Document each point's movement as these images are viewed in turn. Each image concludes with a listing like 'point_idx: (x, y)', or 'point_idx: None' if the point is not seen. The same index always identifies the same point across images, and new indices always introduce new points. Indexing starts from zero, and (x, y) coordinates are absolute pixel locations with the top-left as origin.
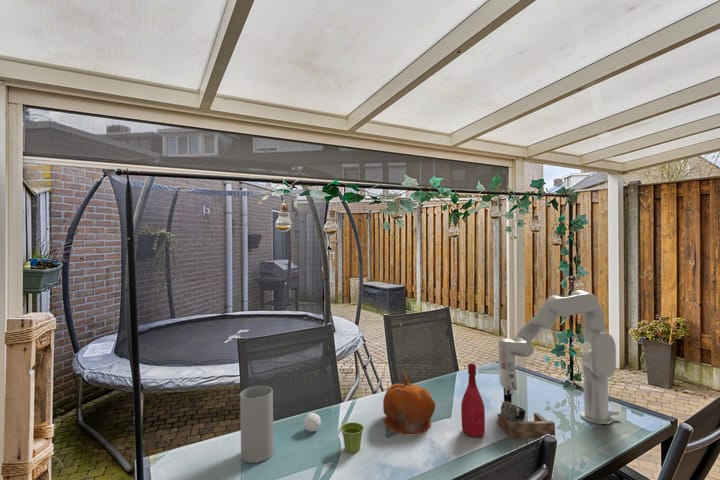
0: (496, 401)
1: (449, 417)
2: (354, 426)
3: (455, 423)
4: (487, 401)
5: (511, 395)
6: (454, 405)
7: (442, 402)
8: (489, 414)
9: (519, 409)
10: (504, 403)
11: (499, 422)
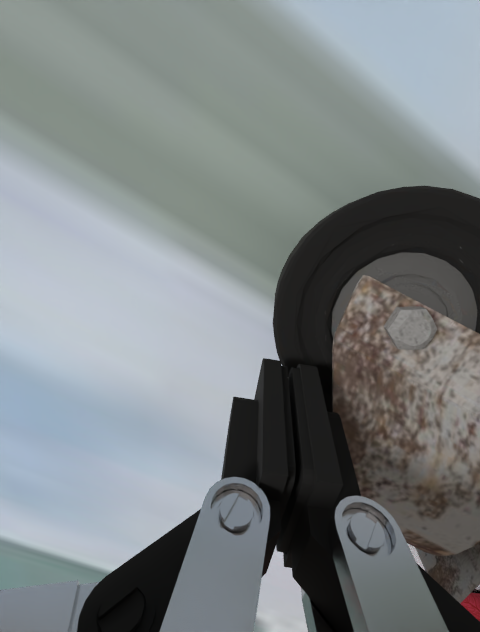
0: (9, 300)
1: (258, 622)
2: None
3: None
4: (21, 378)
5: (336, 466)
6: (110, 565)
7: None
8: None
9: (464, 309)
10: (457, 579)
11: None
